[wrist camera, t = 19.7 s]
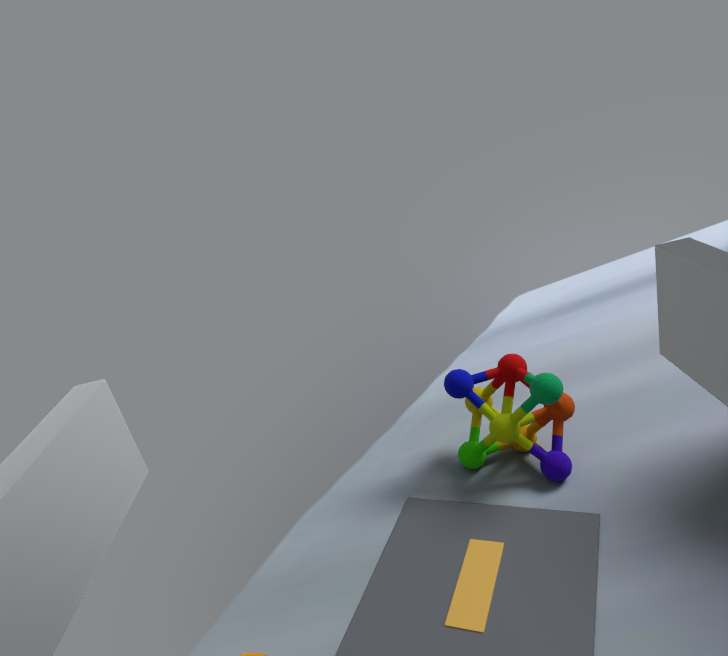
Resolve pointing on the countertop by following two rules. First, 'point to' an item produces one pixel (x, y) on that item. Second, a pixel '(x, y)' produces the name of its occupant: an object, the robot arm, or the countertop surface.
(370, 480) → the countertop surface
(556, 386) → the molecular model
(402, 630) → the mat
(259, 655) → the cylinder
